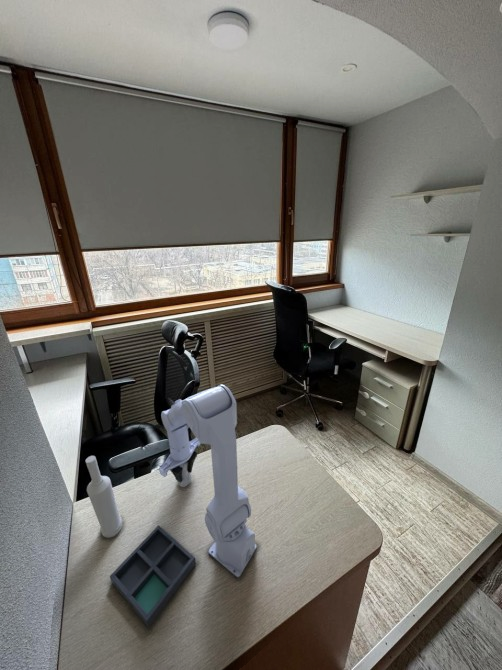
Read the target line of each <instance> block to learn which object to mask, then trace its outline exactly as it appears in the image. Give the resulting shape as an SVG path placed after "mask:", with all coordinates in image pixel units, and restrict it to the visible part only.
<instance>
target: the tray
mask: <svg viewBox="0 0 502 670" xmlns="http://www.w3.org/2000/svg"><path fill="white" fill-rule="evenodd" d="M196 565H197V563H196V557H195V556H194V555H193V554H192V553H191V552H190V551H189V550H188V549H186V547H184V546H183V545H182V544H180V542H178V541H177V539H175V538H174V537H173V536H172V535H171V534H170V533H168V532H167V531H166V530H165V529H164V528H162V527H161V526H160V525H157V526H156V527H155V528H154V529H153V530H152V531H151V532H150V533H149V534H148V535H147V536H146V538H144V539H143V540H142V542H141V543H140V544H139V545H138V546H137V547H136V548H135V549H134V550H133V551H132V552H131V553H130V554H129V555H128V556H127V557H126V559H124V560H123V562H121V564H120V565H118V566H117V568H115V570H114V571H113V572H112V573H111V574H110V575H109V578H110V582H111V584H112V585H113V586H114V587H115V588H116V590H117V591H118V592H119V594H120V595H121V596H122V597H123V599H124V600H125V601H126V602H127V603H128V604H129V606H130V607H131V608H132V610H133V611H134V612H135V613H136V614H137V616H138V617H139V618H140V619H141V620H142V622H143V623H144V624H145V626H146V627H147V628H148V629H149V628H150V627H151V626H152V624H153V623H154V622H155V620H156V619H157V618H158V616H159V615H160V613H161V612H162V611H163V609H164V608H165V607H166V606H167V604H168V603H169V601H170V600H171V599H172V597H173V596H174V594H175V593H176V592H177V590H178V589H179V588H180V586H181V585H182V584H183V582H184V581H185V580H186V578H187V577H188V575H189V574H190V573H191V571H192V570H193V568H194V567H195V566H196Z"/></svg>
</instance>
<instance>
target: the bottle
mask: <svg viewBox="0 0 502 670" xmlns="http://www.w3.org/2000/svg"><path fill="white" fill-rule="evenodd" d="M85 464H86V467H87V470H88V472H89V473H88V474H89V475H90V478H91V481H90V482H89V483H88V485H87V486H86V492H87V495H88V497H89V500H90V503H91V506H92V508H93V510H94V513H95V516H96V518H97V521H98V524H99V527H100V529H99V531H100V533H101V534H102V536H103V537H105V538H106V539H110V538H113V537H116V535H118V534H119V533H120V531H121V530H122V527H123V519H122V517H121V515H120V511H119V509H118V504H117V500H116V498H115V493H114V489H113V485H112V481H111V479H110V477H109V476H107V475H101V471H100V469H99V465H98V461H97V457H96V456H95V455H90V456H88V457H87V458H86V459H85Z"/></svg>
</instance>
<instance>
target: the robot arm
mask: <svg viewBox="0 0 502 670" xmlns="http://www.w3.org/2000/svg"><path fill="white" fill-rule="evenodd" d="M237 407H238V406H237V400H236V398H235V397H234V394H233V392H232V391H231V389H230V388H229V387H228V386H226V385H224V384H219V385H217V386H214V387H211V388H208V389H205V390H202V391H199V392H198V393H196V394H193V395H191V396H188V397H187V398H185V399H183V400H182V399H181V398H180V399H177V400H175V401H174V404H172V405H171V406H170V408H169V409H167V410H163V411H161V414H160V416H161V417H160V418H161V421H162V425H163V427H164V429H165V430H166V433H167V440H168V446H169V452H170V454H169V455H168V457H167V458H166V459H165V461H164V462H163V464H162V465H161V467H160V468H158V471H159V474H160V475H161V476H162V477H163V478H165V477H166V476H167V475H168V473H169V472H171V473H172V475H173V477H174V478H175V481H176V482H177V481H178V482H180V483H181V482H182V470H183V468H182V467H180V466H179V465H180V464H182V463H184V462H186V461H187V463H188V465H187V467H188V468H187V471H188V472H189V473H190V474H191V473H192V472H193V467H194V464H195V461H196V459H197V457H198V453H197V452H196V448H197V447H200V446H201V444H203V445H210V455H211V466H212V479H213V490H214V496H213V498H212V499H211V500H210V501H209V503H208V504H207V506H206V509H205V510H206V512H205V514H204V523H205V526H206V529H207V530H208V533H209V534H210V536H211V538H212V539H213V540H214V542H213V543H212V545H211V546H210V548H209V549H208V554H209V555H210V556H211V557H212V558H214V559H215V560H216V561H217V562H218V563H219V564H221V565H222V566H223V567H225V569H227V570H228V571H229V572H230V573H231V574H233V575H234V576H235V577H236V578H240V577H241V576H242V573H244V570H245V568H246V566H247V565H248V564H249V562H250V560H251V558H252V556H253V555H254V553H255V552H256V549H257V547H258V546H257V544H256V534H255V533H254V532H253V531H252V530H250V529H249V527H248V526H247V524H246V523H247V519H248V518H250V517H251V516H252V507H251V503H250V501H249V496H248V495H247V493H246V492H245V491H244V489H242V487H241V486H240V485H239V481H238V479H239V477H238V451H237V449H238V447H237V435H236V427H237V424H238V409H237ZM189 429H190V431H191V432H192V434H193V436H194V438H193V439H192V440H190V438H189ZM178 482H177V483H178Z"/></svg>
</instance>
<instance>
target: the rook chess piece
mask: <svg viewBox="0 0 502 670" xmlns="http://www.w3.org/2000/svg"><path fill="white" fill-rule="evenodd" d="M187 465H188V463H187V461H186V462H184V463H182V464H180V465H179V466H180V467H182V468H183V470H182V482H181V483H180V482H178V481H177V480H176V482H177V485H178V486H180V487H187V486H188V485H190V484H191V482H192V474H191V473H189V472H188V471H187V468H188V467H187Z"/></svg>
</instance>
